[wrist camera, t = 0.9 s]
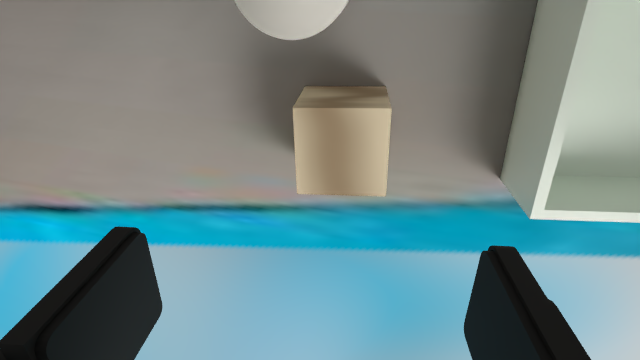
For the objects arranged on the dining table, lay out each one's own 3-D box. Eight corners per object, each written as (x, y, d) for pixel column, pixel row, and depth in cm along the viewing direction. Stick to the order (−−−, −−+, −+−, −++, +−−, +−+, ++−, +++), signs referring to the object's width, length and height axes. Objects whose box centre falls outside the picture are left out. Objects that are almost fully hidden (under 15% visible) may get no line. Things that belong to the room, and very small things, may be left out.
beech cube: (385, 86, 23) (391, 108, 19) (381, 160, 26) (385, 196, 21) (305, 85, 24) (292, 108, 19) (307, 159, 26) (297, 193, 22)
